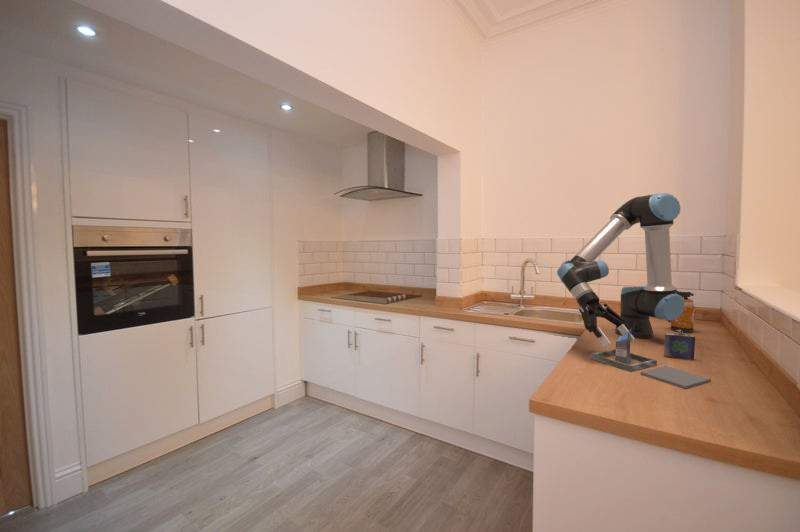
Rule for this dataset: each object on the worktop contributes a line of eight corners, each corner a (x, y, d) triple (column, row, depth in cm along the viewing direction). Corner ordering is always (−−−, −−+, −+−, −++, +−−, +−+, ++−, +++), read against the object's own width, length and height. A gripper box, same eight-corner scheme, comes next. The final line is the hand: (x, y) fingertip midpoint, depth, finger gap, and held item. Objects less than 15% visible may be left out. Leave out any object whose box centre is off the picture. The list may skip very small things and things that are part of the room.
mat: (665, 368, 123) (665, 365, 123) (710, 381, 111) (710, 378, 111) (640, 374, 117) (640, 371, 117) (685, 388, 105) (685, 386, 105)
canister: (694, 334, 169) (696, 292, 168) (665, 330, 176) (667, 291, 175) (693, 330, 176) (695, 290, 175) (665, 327, 183) (667, 289, 182)
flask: (664, 357, 135) (666, 329, 134) (662, 355, 137) (664, 327, 137) (695, 360, 131) (696, 332, 130) (692, 358, 134) (694, 330, 133)
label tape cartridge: (618, 357, 134) (619, 325, 133) (630, 360, 132) (631, 327, 131) (614, 364, 127) (615, 330, 127) (627, 366, 125) (628, 332, 124)
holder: (615, 353, 139) (616, 348, 139) (656, 365, 126) (657, 360, 126) (590, 358, 133) (590, 353, 133) (630, 371, 120) (630, 366, 119)
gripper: (599, 300, 150) (633, 344, 137) (556, 303, 139) (589, 351, 127) (612, 289, 145) (648, 334, 132) (568, 292, 134) (604, 341, 122)
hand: (619, 342), depth 129 cm, fingers open, 13 cm apart
